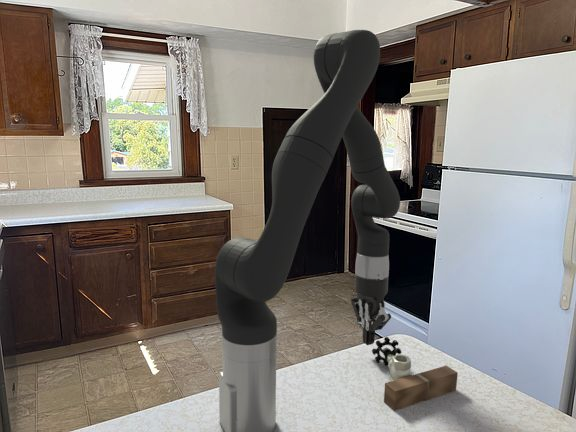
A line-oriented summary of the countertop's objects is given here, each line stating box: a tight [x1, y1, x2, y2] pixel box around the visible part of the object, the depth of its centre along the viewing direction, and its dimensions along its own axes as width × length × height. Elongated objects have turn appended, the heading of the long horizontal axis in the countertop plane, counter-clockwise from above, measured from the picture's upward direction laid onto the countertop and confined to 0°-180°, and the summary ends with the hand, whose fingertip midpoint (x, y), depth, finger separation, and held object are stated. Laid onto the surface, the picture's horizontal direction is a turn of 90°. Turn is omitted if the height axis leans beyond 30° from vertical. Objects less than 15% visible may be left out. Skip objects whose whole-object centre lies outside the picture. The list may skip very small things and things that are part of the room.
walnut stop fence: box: [383, 365, 459, 412], centre depth 83 cm, size 16×3×4 cm, turn 116°
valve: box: [371, 336, 412, 382], centre depth 89 cm, size 7×7×12 cm
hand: (368, 343), depth 99 cm, fingers closed
